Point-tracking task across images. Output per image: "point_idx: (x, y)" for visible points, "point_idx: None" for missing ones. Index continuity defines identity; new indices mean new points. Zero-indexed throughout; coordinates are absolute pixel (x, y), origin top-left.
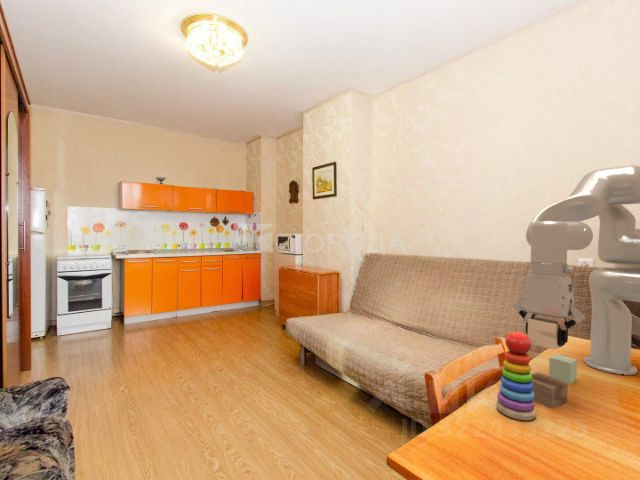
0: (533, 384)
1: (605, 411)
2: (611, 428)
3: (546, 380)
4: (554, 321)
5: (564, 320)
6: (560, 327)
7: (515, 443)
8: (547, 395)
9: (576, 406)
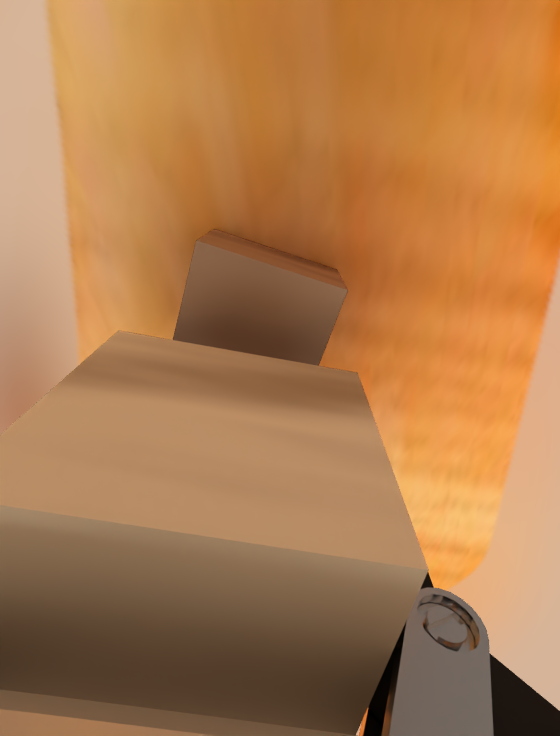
0: None
1: (470, 243)
2: (471, 381)
3: (258, 334)
4: (277, 664)
5: (433, 734)
6: (366, 711)
7: None
8: None
9: (370, 284)
